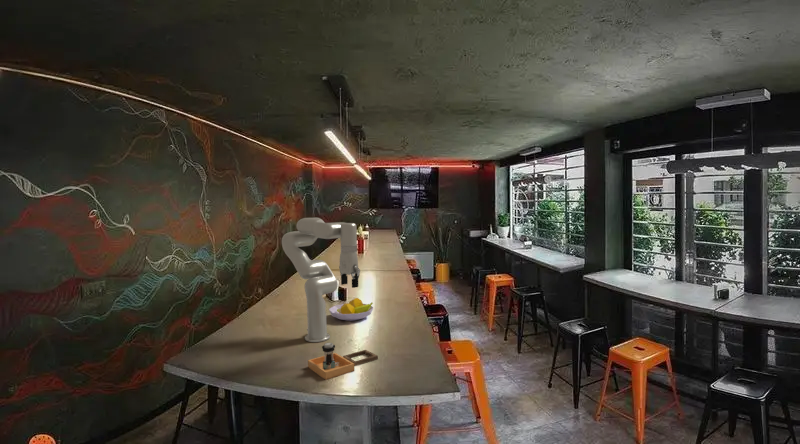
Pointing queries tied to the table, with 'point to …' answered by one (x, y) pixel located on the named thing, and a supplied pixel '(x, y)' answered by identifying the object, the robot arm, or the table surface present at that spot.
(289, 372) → the table surface
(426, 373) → the table surface
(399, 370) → the table surface
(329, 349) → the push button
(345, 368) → the parts tray
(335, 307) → the fruit bowl
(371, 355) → the component holder
